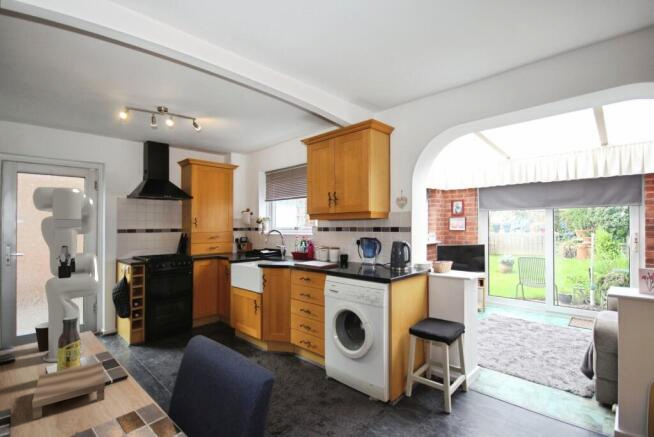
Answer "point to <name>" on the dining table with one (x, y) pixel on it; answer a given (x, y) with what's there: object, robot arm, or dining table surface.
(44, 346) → the coffee mug
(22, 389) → the dining table surface
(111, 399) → the dining table surface
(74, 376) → the walnut shelf
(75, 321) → the sauce bottle
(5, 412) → the dining table surface
